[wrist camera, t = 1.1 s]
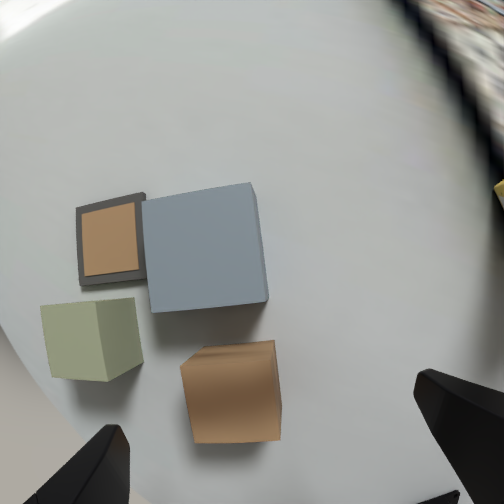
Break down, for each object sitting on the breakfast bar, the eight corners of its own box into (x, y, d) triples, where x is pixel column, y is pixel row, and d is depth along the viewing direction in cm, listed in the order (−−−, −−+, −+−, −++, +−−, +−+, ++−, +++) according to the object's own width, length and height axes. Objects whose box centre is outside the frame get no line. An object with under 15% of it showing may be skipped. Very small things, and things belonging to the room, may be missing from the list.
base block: (269, 297, 22) (265, 301, 18) (173, 307, 23) (151, 312, 19) (256, 198, 23) (250, 182, 19) (163, 213, 23) (141, 201, 19)
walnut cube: (282, 404, 21) (280, 440, 16) (214, 409, 22) (194, 443, 16) (274, 339, 22) (270, 359, 16) (204, 346, 22) (180, 366, 17)
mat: (152, 277, 23) (148, 277, 22) (83, 285, 23) (78, 285, 23) (145, 193, 23) (141, 191, 23) (79, 209, 24) (75, 207, 23)
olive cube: (144, 361, 22) (108, 381, 17) (92, 361, 23) (51, 377, 18) (134, 297, 23) (95, 301, 17) (83, 301, 23) (40, 305, 18)
